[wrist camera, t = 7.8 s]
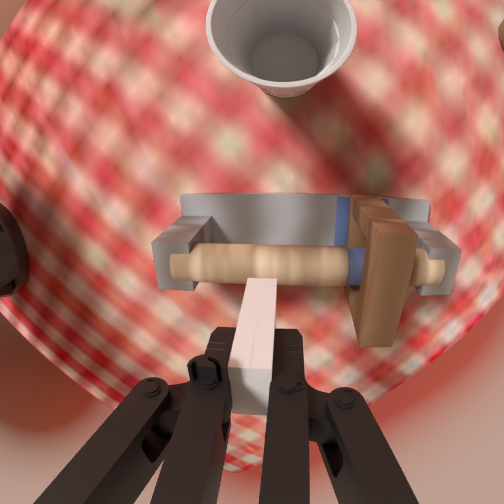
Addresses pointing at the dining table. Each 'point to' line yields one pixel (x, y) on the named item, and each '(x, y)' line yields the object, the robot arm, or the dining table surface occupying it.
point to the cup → (282, 41)
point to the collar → (379, 269)
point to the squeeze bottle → (501, 33)
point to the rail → (287, 242)
